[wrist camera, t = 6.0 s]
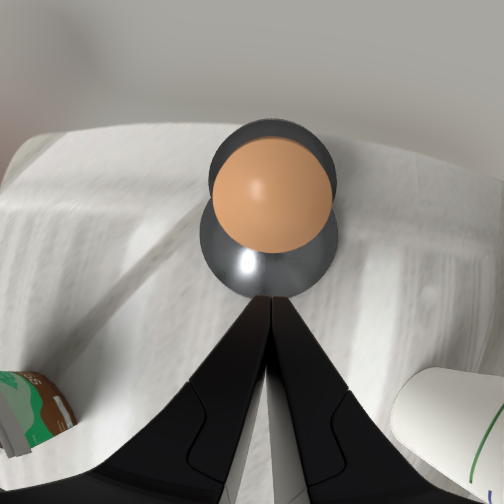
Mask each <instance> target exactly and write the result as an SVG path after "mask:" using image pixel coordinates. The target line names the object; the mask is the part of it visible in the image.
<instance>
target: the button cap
mask: <svg viewBox="0 0 504 504" xmlns="http://www.w3.org/2000/svg"><path fill="white" fill-rule="evenodd" d="M213 206H214V211H215V214H216V216H217V219H218V221H219V223H220V225H221V226H222V228H223V229H224V230H225V232H226V233H227V234H228V235H229V236H230V237H231V238H233V239H234V240H235V241H236V242H238V243H239V244H241V245H243V246H245V247H247V248H249V249H252V250H255V251H259V252H265V253H281V252H287V251H291V250H294V249H297V248H299V247H301V246H303V245H305V244H306V243H308V242H309V241H311V240H312V239H313V238H314V237H315V236H316V235H317V234H318V233H319V232H320V231H321V230H322V228H323V227H324V225H325V223H326V221H327V220H328V217H329V214H330V211H331V206H332V190H331V185H330V181H329V179H328V176H327V174H326V172H325V170H324V169H323V167H322V166H321V164H320V163H319V161H318V160H317V158H316V157H315V156H314V155H313V154H312V152H311V151H310V150H308V149H307V148H306V147H305V146H303V145H302V144H300V143H298V142H296V141H294V140H292V139H289V138H285V137H279V136H265V137H259V138H256V139H253V140H250V141H248V142H246V143H244V144H243V145H241V146H240V147H238V148H237V149H236V150H235V151H234V152H233V153H232V154H231V155H230V157H229V158H228V159H227V161H226V162H225V164H224V165H223V166H222V168H221V169H220V171H219V173H218V175H217V177H216V180H215V183H214V188H213Z"/></svg>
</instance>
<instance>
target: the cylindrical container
mask: <svg viewBox="0 0 504 504" xmlns="http://www.w3.org/2000/svg"><path fill="white" fill-rule="evenodd" d="M390 423H391V430H392V432H393V435H394V436H395V438H396V439H397V440H398V441H399V442H400V443H402V444H403V445H404V446H406V447H407V448H408V449H410V450H411V451H412V452H414V453H415V454H416V455H418V456H419V457H420V458H422V459H423V460H424V461H426V462H427V463H429V464H430V465H431V466H433V467H434V468H436V469H437V470H438V471H440V472H441V473H443V474H444V475H445V476H447V477H448V478H450V479H451V480H453V481H454V482H456V483H457V484H459V485H460V486H462V487H463V488H465V489H466V490H468V491H469V492H471V493H472V494H474V495H475V496H477V497H479V498H480V499H482V500H483V501H485V502H486V503H488V504H504V377H501V376H493V375H485V374H478V373H471V372H464V371H458V370H452V369H446V368H440V367H432V368H428V369H425V370H423V371H420V372H419V373H417V374H416V375H414V376H413V377H412V378H411V379H410V380H409V381H408V382H407V383H406V384H405V385H404V386H403V388H402V389H401V390H400V392H399V394H398V395H397V397H396V400H395V402H394V404H393V407H392V411H391V419H390Z"/></svg>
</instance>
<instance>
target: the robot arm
mask: <svg viewBox="0 0 504 504" xmlns="http://www.w3.org/2000/svg"><path fill="white" fill-rule="evenodd" d="M265 371H266V387H267V401H268V415H269V429H270V444H271V458H272V473H273V488H274V503H275V504H484V503H480V502H477V501H474V500H471V499H468V498H465V497H462V496H459V495H456V494H453V493H450V492H448V491H445V490H443V489H440V488H438V487H436V486H434V485H433V484H431V483H430V482H428V481H427V480H426V479H425V478H423V477H422V476H421V475H420V474H419V473H418V472H417V471H416V470H415V469H414V468H413V467H412V465H411V464H410V463H409V462H408V461H407V460H406V459H405V458H404V457H403V455H402V454H401V453H400V452H399V451H398V450H397V449H396V448H395V447H394V445H393V444H392V443H391V442H390V441H389V440H388V439H387V438H386V436H385V435H384V434H383V433H382V432H381V431H380V429H379V428H378V427H377V426H376V425H375V423H374V422H373V421H372V420H371V418H370V417H369V416H368V414H367V413H366V412H365V410H364V409H363V407H362V406H361V405H360V403H359V402H358V400H357V399H356V397H355V396H354V394H353V393H352V391H351V390H348V389H349V387H348V386H347V384H346V383H345V381H344V380H343V378H342V377H341V375H340V374H339V372H338V371H337V369H336V368H335V366H334V365H333V363H332V362H331V360H330V359H329V357H328V356H327V355H326V353H325V352H324V350H323V349H322V347H321V346H320V344H319V343H318V341H317V340H316V338H315V337H314V335H313V334H312V332H311V331H310V329H309V328H308V326H307V325H306V324H305V322H304V321H303V319H302V318H301V316H300V315H299V313H298V312H297V310H296V309H295V307H294V306H293V304H292V303H291V301H290V300H289V299H288V297H286V296H272V297H270V296H269V295H255V296H254V297H253V298H252V300H251V301H250V302H249V303H248V305H247V306H246V307H245V309H244V310H243V311H242V313H241V314H240V315H239V316H238V318H237V319H236V320H235V322H234V323H233V324H232V325H231V327H230V328H229V329H228V331H227V332H226V333H225V334H224V336H223V337H222V338H221V339H220V341H219V342H218V343H217V345H216V346H215V347H214V348H213V350H212V351H211V352H210V353H209V355H208V356H207V357H206V358H205V360H204V361H203V362H202V363H201V365H200V366H199V367H198V368H197V370H196V371H195V372H194V373H193V375H192V376H191V377H190V378H189V382H188V381H187V382H186V383H185V384H184V385H183V387H182V388H181V389H180V390H179V392H178V393H177V394H176V395H175V396H174V397H173V398H172V400H171V401H170V402H169V403H168V404H167V405H166V406H165V407H164V409H163V410H161V411H160V412H159V413H158V414H157V415H156V416H155V417H154V418H153V419H152V420H151V421H150V422H149V423H148V424H147V425H146V426H145V427H144V428H142V429H141V430H140V431H139V432H138V433H137V434H136V435H134V436H133V437H132V438H131V439H130V440H129V441H128V442H126V443H125V444H124V445H123V446H122V447H121V448H119V449H118V450H117V451H116V452H115V453H114V454H112V455H111V456H110V457H109V458H107V459H106V460H105V461H104V462H102V463H101V464H99V465H98V466H96V467H94V468H93V469H91V470H89V471H86V472H84V473H82V474H79V475H76V476H72V477H69V478H65V479H61V480H57V481H54V482H50V483H45V484H41V485H36V486H32V487H27V488H21V489H16V490H10V491H5V490H3V489H1V488H0V504H235V502H236V498H237V494H238V490H239V486H240V483H241V479H242V475H243V471H244V467H245V463H246V458H247V454H248V450H249V446H250V442H251V437H252V433H253V429H254V424H255V420H256V416H257V411H258V407H259V402H260V397H261V393H262V388H263V383H264V378H265Z"/></svg>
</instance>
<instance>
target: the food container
mask: <svg viewBox="0 0 504 504" xmlns="http://www.w3.org/2000/svg"><path fill="white" fill-rule="evenodd" d="M75 425H77V422H76V419H75V417H74V414H73V412H72V410H71V408H70V406H69V404H68V403H67V401H66V399H65V397H64V396H63V395H62V393H61V392H60V391H59V390H58V388H57V387H56V386H55V384H53V383H52V382H51V381H50V380H48V379H47V378H46V377H45V376H43V375H41V374H39V373H36V372H10V371H0V448H3V449H4V450H5V453H6V455H7V457H8V458H11V457H14V456H16V457H18V456H22V455H25V454H28V453H32V451H31V448H33V447H35V446H37V445H39V444H41V443H43V442H45V441H47V440H49V439H51V438H53V437H55V436H56V435H58V434H60V433H62V432H64V431H66V430H68V429H70V428H72V427H73V426H75Z"/></svg>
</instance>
